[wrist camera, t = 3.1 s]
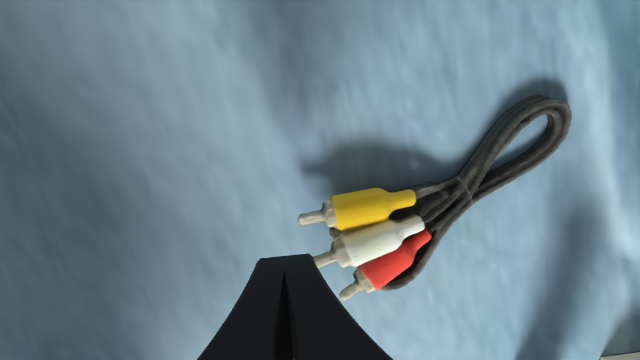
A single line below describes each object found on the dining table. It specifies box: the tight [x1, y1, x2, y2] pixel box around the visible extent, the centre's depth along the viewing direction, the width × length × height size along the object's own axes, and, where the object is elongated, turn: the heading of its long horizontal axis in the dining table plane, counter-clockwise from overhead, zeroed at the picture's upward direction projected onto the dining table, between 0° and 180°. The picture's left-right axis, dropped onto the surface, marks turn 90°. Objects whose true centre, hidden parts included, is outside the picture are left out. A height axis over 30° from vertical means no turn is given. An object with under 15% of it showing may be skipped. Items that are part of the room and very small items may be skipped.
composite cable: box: [298, 95, 572, 300], centre depth 14 cm, size 10×5×2 cm, turn 115°
